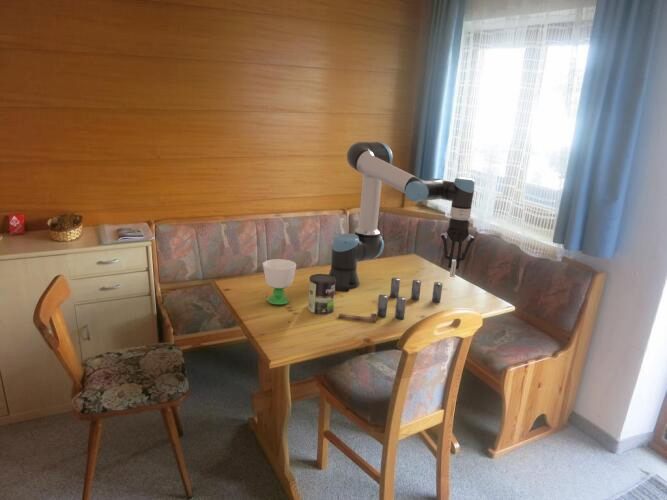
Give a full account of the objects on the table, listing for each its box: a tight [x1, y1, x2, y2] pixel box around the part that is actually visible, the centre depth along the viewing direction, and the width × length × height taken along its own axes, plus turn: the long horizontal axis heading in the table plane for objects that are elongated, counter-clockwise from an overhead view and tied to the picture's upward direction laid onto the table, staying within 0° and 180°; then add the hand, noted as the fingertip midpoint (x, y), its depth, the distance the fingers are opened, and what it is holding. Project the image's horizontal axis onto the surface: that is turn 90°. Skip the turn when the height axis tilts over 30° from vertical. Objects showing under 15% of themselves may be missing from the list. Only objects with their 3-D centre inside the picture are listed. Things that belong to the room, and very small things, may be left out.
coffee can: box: [307, 273, 336, 316], centre depth 190 cm, size 10×10×14 cm
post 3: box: [394, 296, 407, 321], centre depth 188 cm, size 4×4×9 cm
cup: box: [262, 258, 297, 305], centre depth 199 cm, size 14×14×16 cm
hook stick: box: [338, 313, 377, 324], centre depth 187 cm, size 14×6×2 cm, turn 82°
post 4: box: [410, 279, 422, 301], centre depth 209 cm, size 4×4×9 cm
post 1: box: [376, 294, 389, 319], centre depth 189 cm, size 4×4×9 cm
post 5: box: [431, 281, 444, 304], centre depth 208 cm, size 4×4×9 cm
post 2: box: [389, 276, 401, 299], centre depth 210 cm, size 4×4×9 cm
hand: (452, 276), depth 193 cm, fingers closed
